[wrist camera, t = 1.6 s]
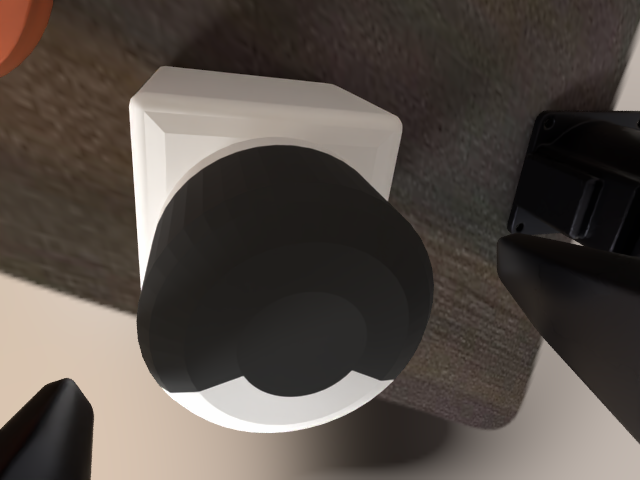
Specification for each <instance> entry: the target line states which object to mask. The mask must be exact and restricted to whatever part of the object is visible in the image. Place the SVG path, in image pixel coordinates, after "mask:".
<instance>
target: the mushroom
mask: <svg viewBox="0 0 640 480" xmlns="http://www.w3.org/2000/svg"><path fill="white" fill-rule="evenodd" d="M52 7H53V0H0V78H1V77H3V76H5V75H6V74H8V73H9V72H10V71H12V70H13V69H15V68H16V67H17V66H19V65H20V64H21V63H22V62H23V61H24V60H25V59H26V58H27V57H28V56H29V55H30V54H31V52H32V51H33V49H34V48H35V46H36V45H37V43H38V42H39V41H40V39H41V37H42V35H43V33H44V30H45V28H46V26H47V24H48V21H49V17H50V14H51V10H52Z"/></svg>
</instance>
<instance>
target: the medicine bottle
mask: <svg viewBox="0 0 640 480" xmlns="http://www.w3.org/2000/svg"><path fill="white" fill-rule="evenodd" d="M129 113H130V129H131V144H132V159H133V174H134V189H135V204H136V219H137V235H138V250H139V265H140V280H141V294H140V299H139V304H138V313H137V333H138V342H139V345H140V349H141V353H142V357H143V359H144V361H145V363H146V365H147V367H148V369H149V371H150V373H151V374H152V376H153V377H154V379H155V380H156V381H157V383H158V384H159V385H160V387H161V388H162V389H163V390H164V391H165V392H166V393H167V394H168V395H169V396H170V397H171V398H172V399H174V400H176V401H177V402H178V403H179V404H181V405H182V406H183V407H185V408H186V409H188V410H189V411H191V412H192V413H194V414H196V415H198V416H200V417H202V418H204V419H206V420H207V421H209V422H212V423H215V424H218V425H220V426H223V427H227V428H231V429H236V430H240V431H248V432H257V433H277V432H288V431H295V430H300V429H306V428H310V427H314V426H317V425H320V424H324V423H327V422H329V421H331V420H334V419H337V418H339V417H342V416H344V415H346V414H348V413H350V412H351V411H353V410H356V409H357V408H359V407H360V406H362V405H364V404H365V403H367V402H368V401H370V400H371V399H372V398H374V397H375V396H376V395H378V394H379V393H380V392H382V391H383V390H384V389H385V388H386V387H387V386H388V385H389V384H390V383H391V382H392V381H393V380H395V378H396V377H397V376H398V375H399V374H400V373H401V371H402V370H403V369H404V368H405V367H406V365H407V364H408V362H409V361H410V359H411V358H412V356H413V355H414V353H415V351H416V349H417V347H418V345H419V343H420V342H421V339H422V336H423V334H424V331H425V328H426V325H427V323H428V320H429V317H430V313H431V308H432V303H433V291H434V282H433V273H432V267H431V263H430V260H429V256H428V253H427V251H426V249H425V247H424V244H423V242H422V240H421V238H420V237H419V235H418V234H417V233H416V231H415V230H414V228H413V227H412V226H411V224H410V223H409V222H408V221H407V220H406V219H405V218H404V217H403V216H402V215H401V214H400V213H399V212H398V211H397V210H396V209H395V208H394V207H393V206H392V205H391V204H390V203H389V202H388V198H389V193H390V189H391V184H392V179H393V174H394V169H395V164H396V159H397V154H398V150H399V145H400V140H401V135H402V123H401V121H400V119H399V118H398V117H397V116H395V115H393V114H391V113H389V112H387V111H385V110H383V109H381V108H379V107H377V106H376V105H374V104H372V103H370V102H368V101H366V100H364V99H362V98H360V97H358V96H356V95H354V94H352V93H350V92H348V91H346V90H344V89H342V88H340V87H338V86H336V85H333V84H328V83H319V82H309V81H300V80H291V79H281V78H272V77H263V76H253V75H244V74H235V73H225V72H216V71H207V70H197V69H188V68H179V67H169V66H163V67H159V68H158V69H157V70H156V71H155V72H154V74H153V75H152V76H151V77H150V78H149V79H148V80H147V81H146V82H145V84H144V85H143V86H142V87H141V88H140V89H139V90H138V91H137V92H136V94H135V95H134V96H133V97H132V98H131V100H130V105H129Z"/></svg>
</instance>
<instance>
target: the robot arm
mask: <svg viewBox="0 0 640 480" xmlns="http://www.w3.org/2000/svg"><path fill="white" fill-rule="evenodd" d="M548 118H549V119H548ZM547 119H548V123H547V124H546V125H545V122H546V120H547ZM638 121H639V122H638ZM518 224H519V226H518V227H517V225H518ZM516 227H517V228H516ZM507 229H508V231H509V232H511V233H512V234H510V235H507V236H504V237H501V238H500V239H499V240H498V242H497V272H498V276H499V278H500V280H501V281H502V283H503V284H504V286H505V287H506V288H507V290H508V291H509V292H510V294H511V295H512V297H513V298H514V299H515V301H516V302H517V303H518V305H519V306H520V308H521V309H522V310H523V312H524V313H525V314H526V316H527V317H528V318H529V320H530V321H531V323H532V324H533V325H534V327H535V328H536V329H537V331H538V332H539V333H540V334H541V336H542V337H543V338H544V339H545V340H546V341H547V342H548V344H549V345H550V346H551V347H552V348H553V349H554V350H555V351H556V352H557V353H558V355H559V356H560V357H561V358H562V359H563V360H564V361H565V362H566V363H567V364H568V366H569V367H570V368H571V369H572V370H573V371H574V372H575V373H576V374H577V376H578V377H579V378H580V379H581V380H582V381H583V382H584V383H585V384H586V385H587V386H588V388H589V389H590V390H591V391H592V392H593V393H594V394H595V395H596V396H597V398H598V399H599V400H600V401H601V402H602V403H603V404H604V405H605V406H606V407H607V409H608V410H609V411H610V412H611V413H612V414H613V415H614V416H615V417H616V418H617V420H618V421H619V422H620V423H621V424H622V425H623V426H624V427H625V428H626V430H627V431H629V433H630V434H631V435H632V436H633V437H634V438H635V439H636V441H638V442H639V444H640V111H543V112H541V113H540V114H539V115H538V116H537V118H536V120H535V123H534V127H533V131H532V134H531V138H530V142H529V146H528V149H527V153H526V157H525V161H524V164H523V168H522V172H521V176H520V179H519V183H518V187H517V191H516V194H515V198H514V202H513V206H512V209H511V213H510V217H509V221H508V225H507ZM550 233H562V234H564V235H565V236H567V237H569V238H571V239H573V240H575V241H577V242H579V243H580V244H582V245H583V246H580V245H576V244H571V243H566V242H561V241H556V240H551V239H546V238H542V237H537V236H532V235H537V234H550ZM93 423H94V414H93V409H92V406H91V404H90V403H89V401H88V400H87V399H86V397H85V396H84V394H83V393H82V392H81V390H80V389H79V387H78V386H77V385H76V383H75V382H74V381H73V380H72V379H69V378H64V379H61V380H58V381H55V382H52V383H49V384H47V385H45V386H44V387H43V388H42V389H41V390H40V391H39V392H38V393H37V394H36V395H35V396H34V397H33V398H32V399H31V400H30V401H28V402H27V403H26V404H25V405H24V407H22V408H21V409H20V410H19V411H18V412H17V413H16V414H15V415H14V416H13V417H12V418H11V419H10V420H9V421H8V422H7V423H6V424H5V425H4V426H3V427H2V428H1V429H0V480H91V479H90V478H91V462H92V443H93V425H94V424H93Z"/></svg>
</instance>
